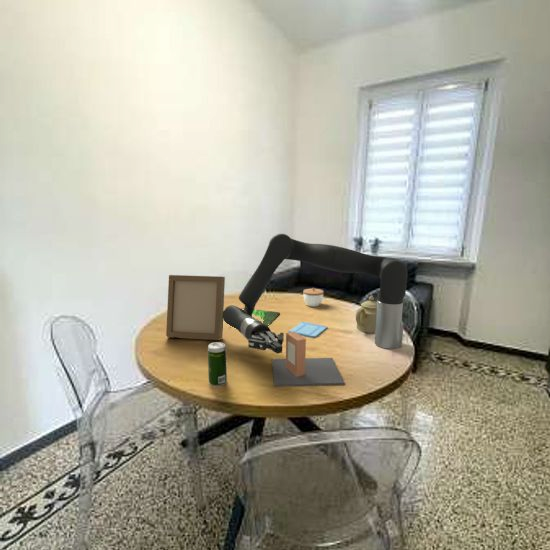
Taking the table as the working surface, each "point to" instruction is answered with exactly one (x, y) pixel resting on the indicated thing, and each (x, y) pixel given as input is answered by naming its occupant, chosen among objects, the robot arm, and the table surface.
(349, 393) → the table surface
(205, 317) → the photo frame
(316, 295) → the lidded jar
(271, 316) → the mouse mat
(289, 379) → the mat
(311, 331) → the blue striped flat panel
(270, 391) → the table surface
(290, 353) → the card box
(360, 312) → the sugar bowl
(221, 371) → the beer can
